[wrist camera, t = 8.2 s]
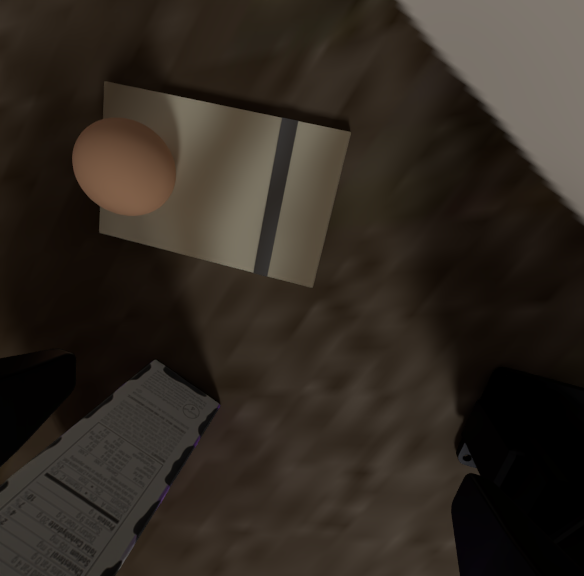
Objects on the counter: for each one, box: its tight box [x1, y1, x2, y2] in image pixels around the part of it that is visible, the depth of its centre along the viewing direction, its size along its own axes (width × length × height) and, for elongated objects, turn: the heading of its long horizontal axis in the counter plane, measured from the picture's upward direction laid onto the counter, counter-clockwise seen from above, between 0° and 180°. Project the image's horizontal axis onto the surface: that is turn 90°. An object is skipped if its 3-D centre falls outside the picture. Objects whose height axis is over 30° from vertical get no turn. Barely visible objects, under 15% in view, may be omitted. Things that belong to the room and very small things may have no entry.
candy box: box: [0, 360, 220, 576], centre depth 16 cm, size 14×6×16 cm, turn 147°
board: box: [99, 81, 351, 288], centre depth 18 cm, size 13×8×1 cm, turn 78°
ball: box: [72, 118, 176, 216], centre depth 16 cm, size 4×4×4 cm
